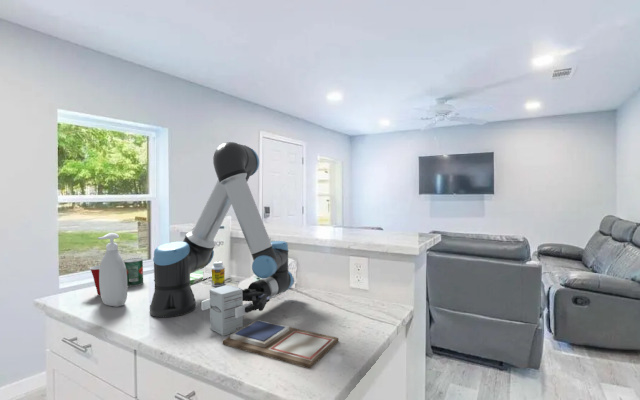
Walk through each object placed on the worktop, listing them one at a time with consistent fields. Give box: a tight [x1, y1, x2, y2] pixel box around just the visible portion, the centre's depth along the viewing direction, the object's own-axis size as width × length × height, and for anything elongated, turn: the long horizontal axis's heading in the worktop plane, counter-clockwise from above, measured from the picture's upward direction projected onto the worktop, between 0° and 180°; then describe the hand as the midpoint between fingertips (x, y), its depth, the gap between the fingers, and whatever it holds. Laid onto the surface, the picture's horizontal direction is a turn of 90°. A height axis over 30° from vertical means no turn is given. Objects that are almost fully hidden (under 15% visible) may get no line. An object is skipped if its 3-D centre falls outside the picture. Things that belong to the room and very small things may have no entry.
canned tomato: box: [123, 257, 144, 287], centre depth 155 cm, size 8×8×11 cm
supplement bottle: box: [211, 260, 226, 287], centre depth 152 cm, size 6×6×10 cm
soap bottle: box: [97, 232, 128, 308], centre depth 127 cm, size 14×8×27 cm, turn 62°
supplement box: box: [209, 284, 244, 337], centre depth 105 cm, size 7×7×13 cm
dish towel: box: [153, 269, 204, 286], centre depth 162 cm, size 18×23×3 cm
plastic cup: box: [89, 264, 101, 297], centre depth 141 cm, size 11×11×12 cm
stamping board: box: [222, 319, 339, 369], centre depth 95 cm, size 28×16×2 cm, turn 62°
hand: (218, 309), depth 102 cm, fingers open, 13 cm apart
